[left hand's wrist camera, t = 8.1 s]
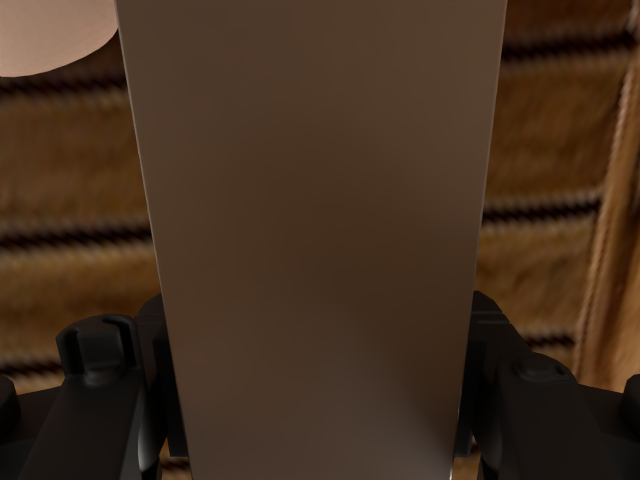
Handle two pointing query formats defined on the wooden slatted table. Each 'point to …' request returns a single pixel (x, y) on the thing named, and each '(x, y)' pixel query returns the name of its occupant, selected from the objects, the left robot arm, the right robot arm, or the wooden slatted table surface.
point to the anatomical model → (51, 33)
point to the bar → (315, 223)
